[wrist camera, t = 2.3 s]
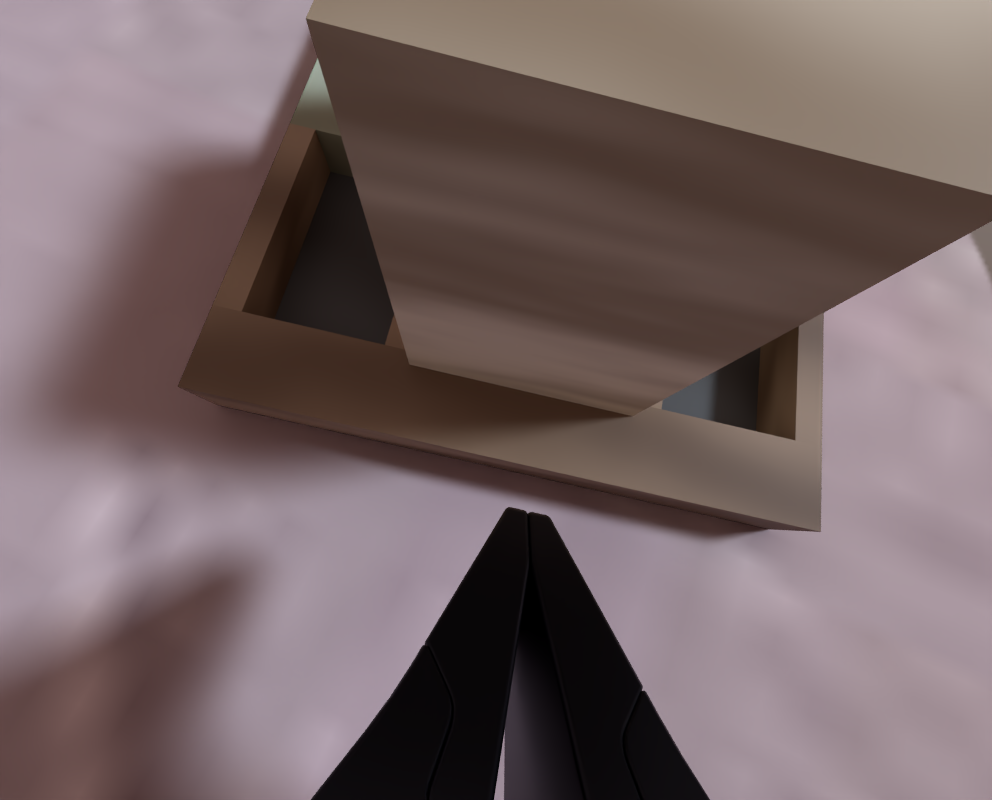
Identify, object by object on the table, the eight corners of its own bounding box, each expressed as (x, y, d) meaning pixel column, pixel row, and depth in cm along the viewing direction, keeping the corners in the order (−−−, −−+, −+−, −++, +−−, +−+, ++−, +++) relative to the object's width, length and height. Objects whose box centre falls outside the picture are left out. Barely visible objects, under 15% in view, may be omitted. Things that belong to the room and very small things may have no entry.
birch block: (632, 416, 15) (1023, 204, 5) (409, 364, 15) (305, 18, 5) (668, 146, 19) (952, -341, 8) (484, 99, 18) (525, -470, 8)
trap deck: (769, 529, 17) (908, 536, 12) (217, 405, 17) (107, 354, 11) (790, 62, 24) (885, -66, 19) (394, -43, 23) (376, -207, 18)
